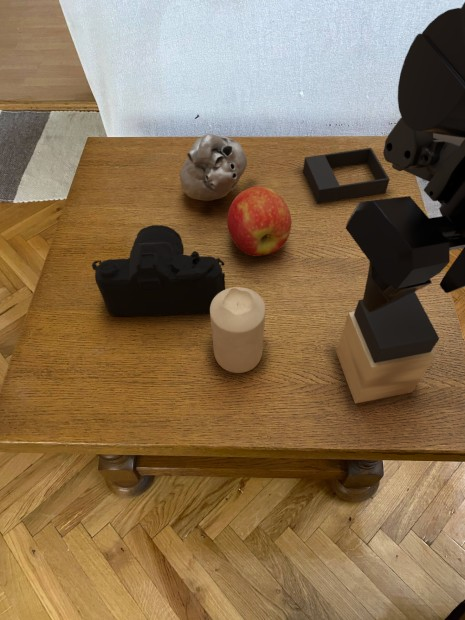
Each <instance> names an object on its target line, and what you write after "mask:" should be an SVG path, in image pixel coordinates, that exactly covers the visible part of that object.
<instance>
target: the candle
mask: <svg viewBox="0 0 465 620" xmlns="http://www.w3.org/2000/svg"><path fill="white" fill-rule="evenodd" d="M209 314H210V315H209V317H210V326H211V327H210V328H211V337H212V348H213V354H214V358H215V361H216V362H217V364H218V365H219V366H220V367H221V368H222V369H224V371H227V372H229V373H234V374H242V373H246V372H249V371H251V370H253V369H254V368H256V367H257V365H258V364H259V363H260V361H261V359H262V358H263V357H262V356H263V349H264V337H265V323H266V304H265V302H264V299H263V297H261V296H260V295H259V294H258V293H257V292H256V291H255V290H252V289H250V288H247V287H243V286H233V287H228V288H225V290H223V291H221V292H220V293H219V294H217V295H216V296H215V298H214V299H213V300H212V303H211V306H210V313H209Z"/></svg>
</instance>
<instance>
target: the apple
mask: <svg viewBox="0 0 465 620" xmlns="http://www.w3.org/2000/svg"><path fill="white" fill-rule="evenodd" d="M292 222H293V221H292V215H291V212H290V209H289V207H288V204H287V203H286V201H285V200H284V198H283V197H282V196H281V195H280V194H279V193H277V192H276V191H275V190H273V189H271V188H269V187H264V186H250V187H249V188H246V189H244V190H242V191H241V192H239V194H237V195H236V196H235V198H234V199H233V201H232V203H231V204H230V206H229V209H228V212H227V218H226V223H227V230H228V234H229V235H230V238H231V240H232V242H233V243H234V245H235V246H236V247H237V248H238V249H239V251H241V252H243V253H244V254H246V255H249V256H251V257H258V256H259V257H261V256H266V255H270V254H273V253H275V252H278V251H279V250H280V249H281V248H282V247H283V246H284V245H285V244H286V242H287V241H288V238H289V236H290V234H291V232H292V231H291V230H292Z"/></svg>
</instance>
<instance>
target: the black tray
mask: <svg viewBox="0 0 465 620" xmlns="http://www.w3.org/2000/svg"><path fill="white" fill-rule="evenodd" d="M363 164H367V167H368V168H369V170H370V172H371V174H372V175H373V178H374V179H372V180H366V181H359V182H353V183H346V184H340V183H339V181H338V179H337V177H336V175H335V172H334V171H333V169H334V168H336V169H337V168H341V167H347V166H354V165H355V166H356V165H363ZM302 172H303V174H304V176H305V178H306V181H307V183H308V186H309V188H310V190H311V193H312V195H313V197H314V200H315V201H316V204H322V203H329V202H335V201H341V200H347V199H356V198H362V197H368V196H374V195H381V194H386V192H387V189H388V185H389V182H390V178H389V175H388V174H387V172H386V170H385V168H384V167H383V165H382V164H381V162H380V160H379V158H378V157H377V155H376V153H375V151H374V149H373V148H372V147H367V148H360V149H351V150H346V151H338V152H331V153H326V154H319V155H311V156H305V157H304V161H303V170H302Z"/></svg>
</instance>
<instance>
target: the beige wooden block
mask: <svg viewBox="0 0 465 620" xmlns="http://www.w3.org/2000/svg"><path fill="white" fill-rule="evenodd" d="M354 313H355V310H353V311H348V313H347V317H346V320H345V322H344V326H343V329H342V332H341V336H340V338H339V341H338V345H337V348H336V351H335V353H336V356H337V359H338V361H339V364H340V367H341V369H342V372H343V375H344V377H345V380H346V383H347V386H348V389H349V391H350V393H351V396H352V399H353V402H354V404H359V403H365V402H370V401H376V400H380V399H385V398H390V397H395V396H400V395H405V394H410V393H413V391H414V390H415V388H417V385H418V384H419V382H420V381H421V380H422V378H423V376H424V375H425V373H426V372H427V370H428V369H429V368H430V366H431V364H432V362H433V361H434V360H435V358H436V357H437V353H436V351H435V349H434V348H433V349H432V351H431V352H429V353H423V354H418V355H413V356H408V357H403V358H397V359H392V360H387V361H382V362H376V363H374V361H373V359H372V356H371V354H370V351H369V349H368V347H367V344H366V342H365V340H364V337H363V335H362V332H361V330H360V328H359V325H358V323H357V320H356V318H355V316H354Z"/></svg>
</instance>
